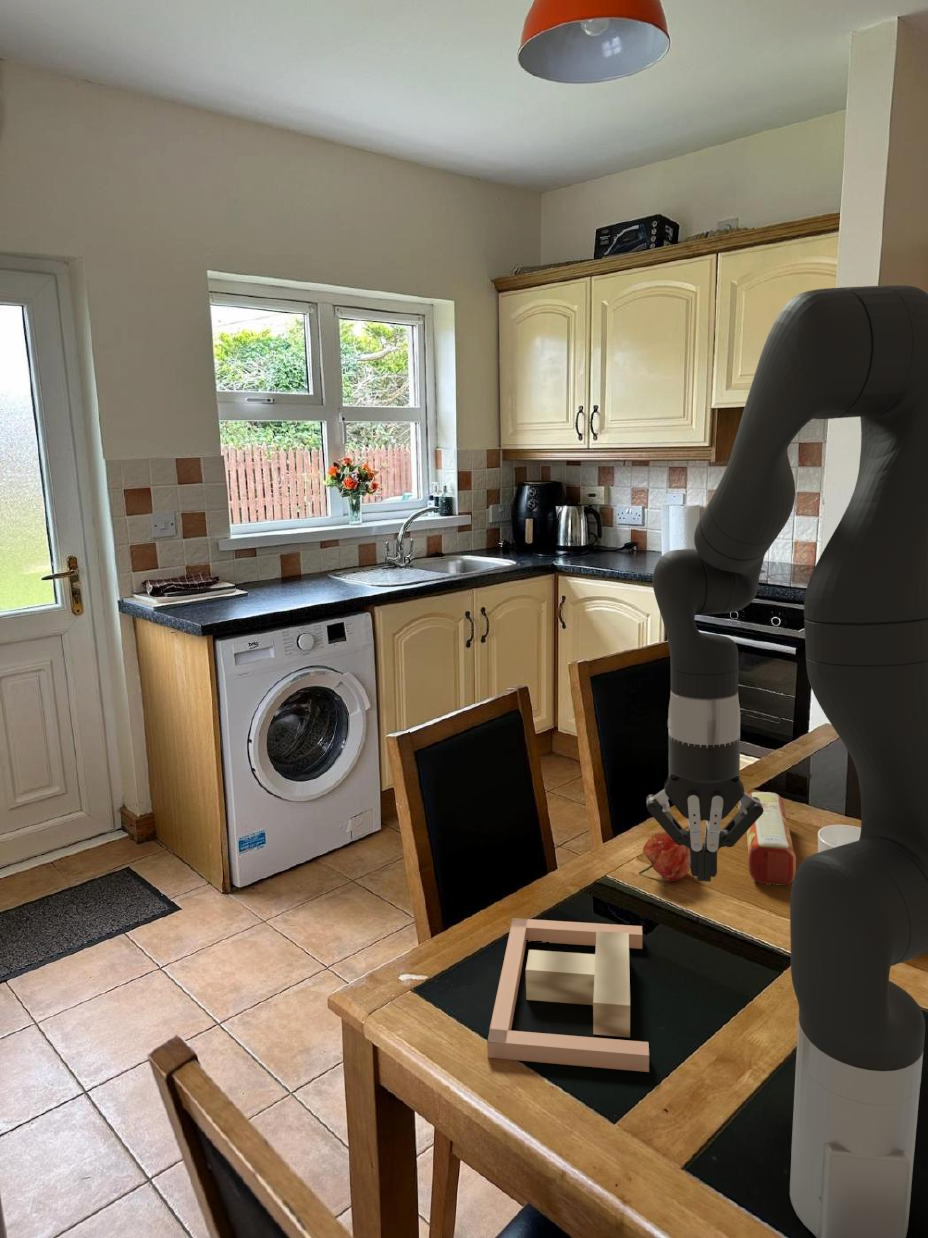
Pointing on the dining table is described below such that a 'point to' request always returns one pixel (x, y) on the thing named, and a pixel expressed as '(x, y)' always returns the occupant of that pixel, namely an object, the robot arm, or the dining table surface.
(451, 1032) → the dining table surface
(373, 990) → the dining table surface
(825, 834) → the white cup
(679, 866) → the pomegranate
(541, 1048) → the frame
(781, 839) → the snack package
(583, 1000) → the T block
